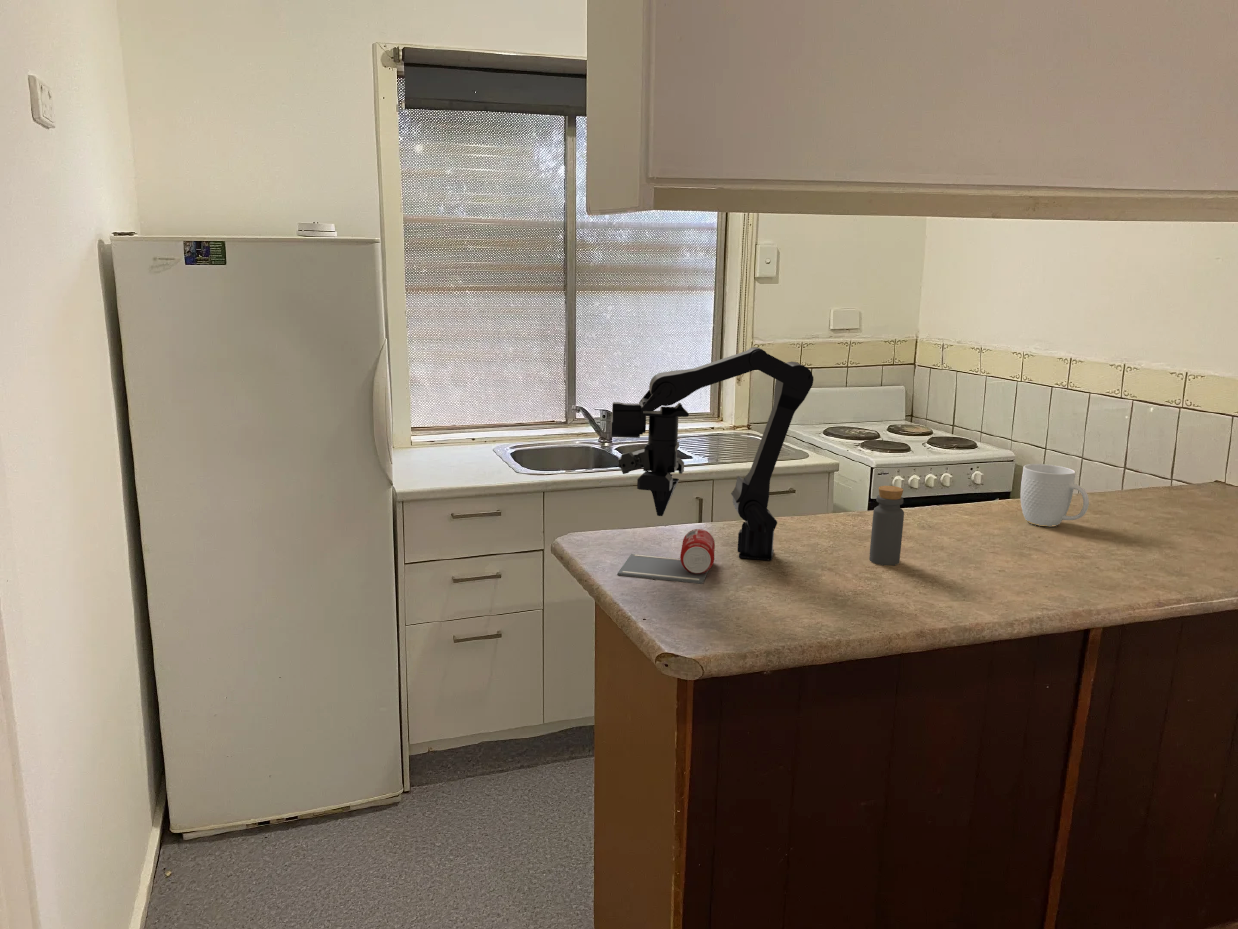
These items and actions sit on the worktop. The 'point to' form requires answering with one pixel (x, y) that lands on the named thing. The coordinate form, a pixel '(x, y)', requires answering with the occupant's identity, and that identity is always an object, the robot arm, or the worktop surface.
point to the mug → (1049, 494)
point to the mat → (659, 569)
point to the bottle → (887, 527)
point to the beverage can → (697, 551)
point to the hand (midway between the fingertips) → (660, 515)
